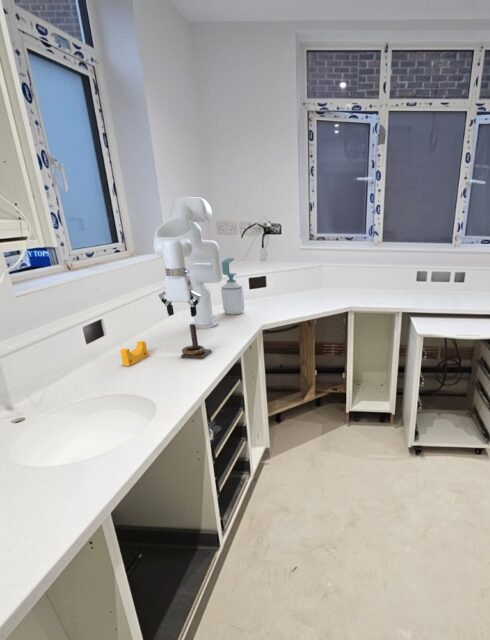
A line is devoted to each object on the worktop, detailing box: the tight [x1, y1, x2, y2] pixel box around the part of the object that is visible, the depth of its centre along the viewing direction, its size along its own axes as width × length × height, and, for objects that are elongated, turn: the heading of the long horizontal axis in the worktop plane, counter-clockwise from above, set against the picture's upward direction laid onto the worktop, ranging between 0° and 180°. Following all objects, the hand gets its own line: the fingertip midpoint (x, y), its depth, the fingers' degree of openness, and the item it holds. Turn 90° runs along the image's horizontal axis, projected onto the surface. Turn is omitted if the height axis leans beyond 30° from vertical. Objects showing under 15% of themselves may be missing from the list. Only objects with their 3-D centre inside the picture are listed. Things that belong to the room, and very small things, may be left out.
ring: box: [181, 344, 206, 355], centre depth 169 cm, size 9×9×2 cm
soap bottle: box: [220, 257, 245, 316], centre depth 232 cm, size 12×12×31 cm
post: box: [180, 323, 212, 360], centre depth 167 cm, size 9×9×13 cm
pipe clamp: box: [119, 340, 149, 367], centre depth 162 cm, size 12×4×6 cm, turn 168°
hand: (182, 315), depth 164 cm, fingers open, 9 cm apart
